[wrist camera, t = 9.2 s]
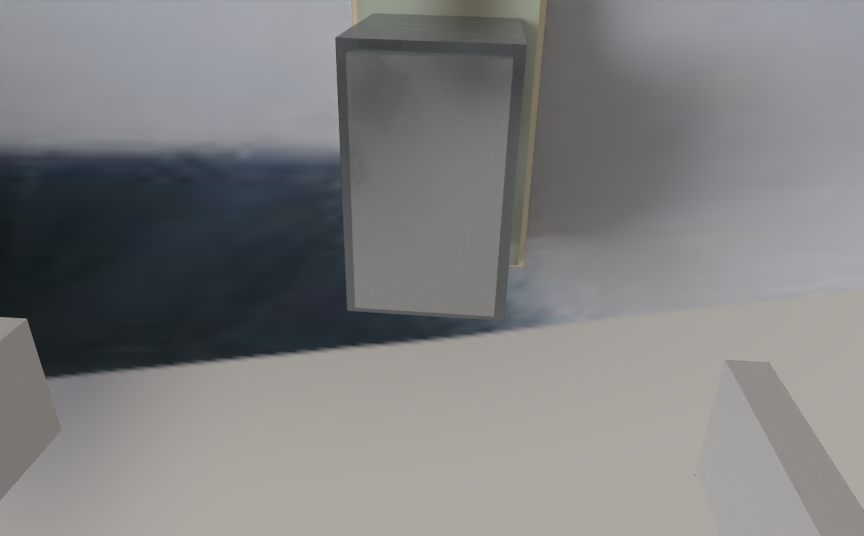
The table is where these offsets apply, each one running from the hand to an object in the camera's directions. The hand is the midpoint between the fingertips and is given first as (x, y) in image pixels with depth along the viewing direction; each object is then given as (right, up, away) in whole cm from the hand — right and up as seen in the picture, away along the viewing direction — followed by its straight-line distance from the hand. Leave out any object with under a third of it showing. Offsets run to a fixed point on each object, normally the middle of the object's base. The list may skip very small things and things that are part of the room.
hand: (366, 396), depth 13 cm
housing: (+2, +8, +16) cm, 18 cm away
